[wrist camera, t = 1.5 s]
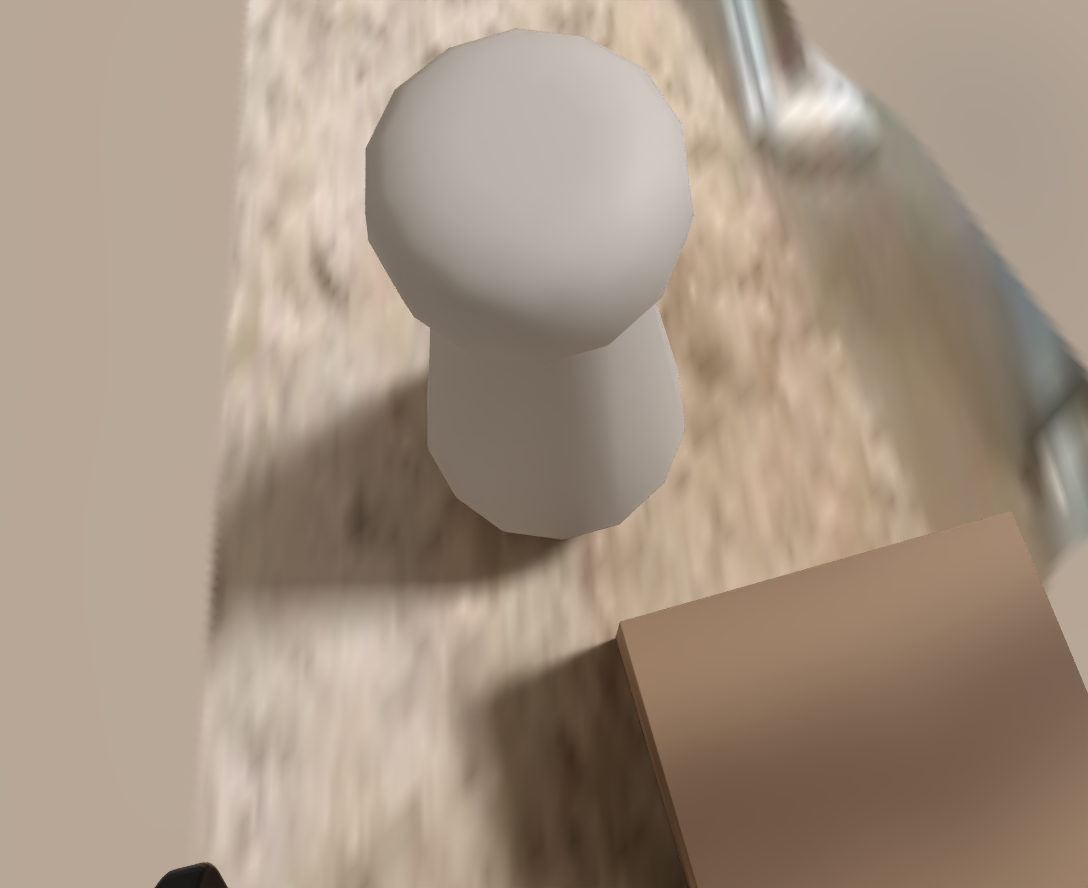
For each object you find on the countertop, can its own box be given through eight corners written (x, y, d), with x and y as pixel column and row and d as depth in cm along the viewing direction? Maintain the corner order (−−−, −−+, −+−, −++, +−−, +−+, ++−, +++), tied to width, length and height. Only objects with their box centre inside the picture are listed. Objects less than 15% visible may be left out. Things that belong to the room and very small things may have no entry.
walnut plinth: (1082, 902, 21) (1193, 944, 17) (723, 1007, 21) (752, 1075, 17) (941, 545, 23) (1011, 510, 19) (615, 638, 23) (620, 621, 19)
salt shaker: (548, 606, 23) (493, 477, 11) (395, 435, 24) (184, 141, 12) (725, 445, 24) (867, 147, 11) (567, 288, 25) (540, -132, 13)
